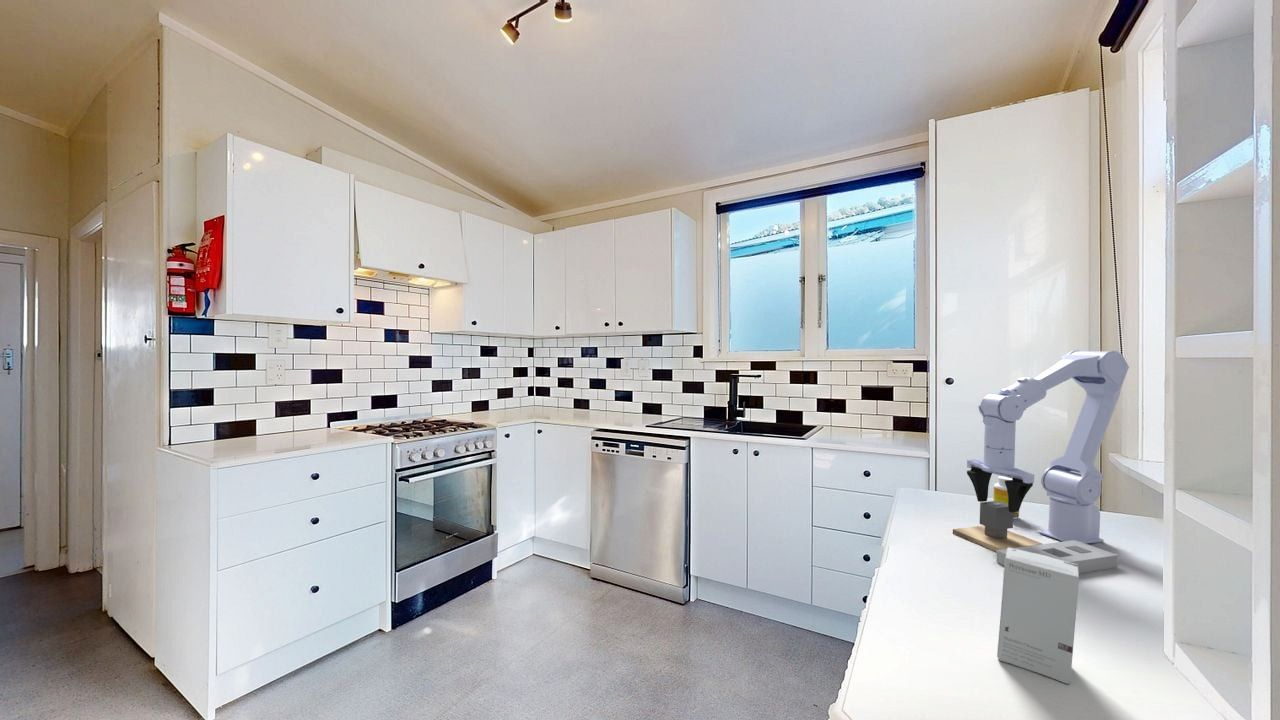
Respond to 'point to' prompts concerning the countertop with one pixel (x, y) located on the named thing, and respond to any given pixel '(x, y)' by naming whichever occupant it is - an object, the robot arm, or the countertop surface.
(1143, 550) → the countertop surface
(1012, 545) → the oak board
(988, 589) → the countertop surface
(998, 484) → the supplement bottle
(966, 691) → the countertop surface
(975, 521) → the countertop surface
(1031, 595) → the skincare box
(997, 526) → the block
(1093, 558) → the power strip
